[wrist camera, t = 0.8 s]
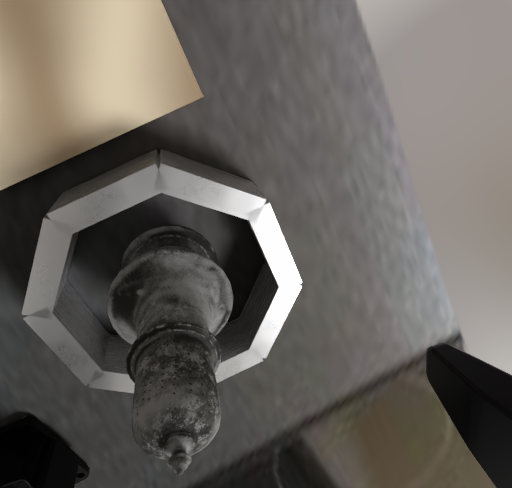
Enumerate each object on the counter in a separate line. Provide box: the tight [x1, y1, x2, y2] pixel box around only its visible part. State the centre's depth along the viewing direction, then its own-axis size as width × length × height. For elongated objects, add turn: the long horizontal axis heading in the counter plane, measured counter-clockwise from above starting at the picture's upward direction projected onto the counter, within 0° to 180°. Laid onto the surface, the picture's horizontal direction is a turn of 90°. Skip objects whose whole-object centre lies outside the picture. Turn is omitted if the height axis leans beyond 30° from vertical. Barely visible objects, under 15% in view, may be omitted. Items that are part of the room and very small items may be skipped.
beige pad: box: [0, 0, 203, 190], centre depth 15 cm, size 11×11×1 cm
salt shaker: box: [107, 226, 233, 475], centre depth 16 cm, size 6×6×12 cm
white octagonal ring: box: [22, 149, 302, 393], centre depth 20 cm, size 12×12×3 cm
